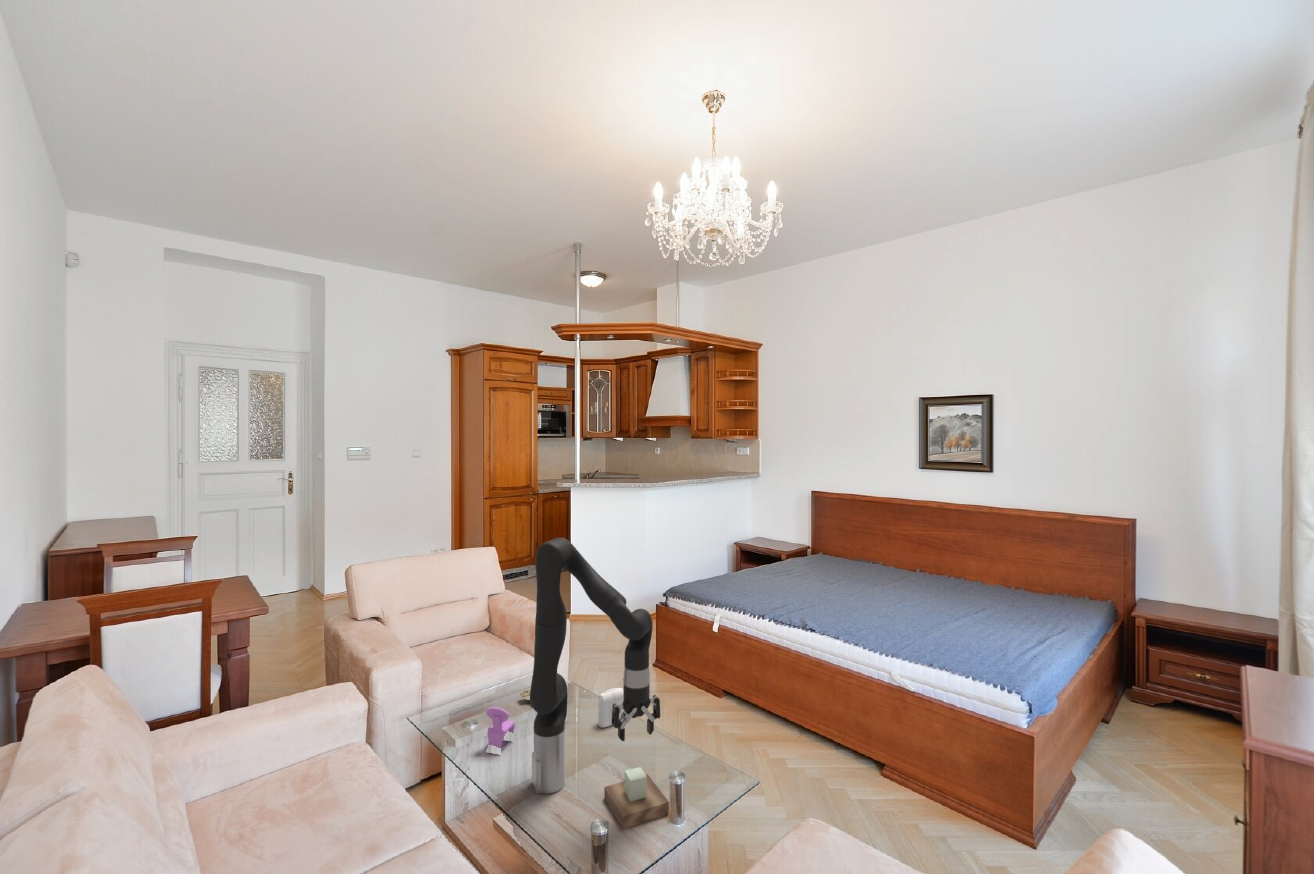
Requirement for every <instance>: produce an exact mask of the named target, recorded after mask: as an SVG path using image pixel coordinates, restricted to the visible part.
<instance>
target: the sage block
mask: <svg viewBox="0 0 1314 874" xmlns="http://www.w3.org/2000/svg"><path fill="white" fill-rule="evenodd" d="M644 771H645V770H643V769H642V766H638V767H635V768H631V769H627V770H624V791H625V793H626V795H627V797H628V798H629V800H630V801H634V800H638V799H642V798H646V797H647V776H646V775H647V774H646V773H645V772H644Z"/></svg>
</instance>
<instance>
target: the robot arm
mask: <svg viewBox="0 0 1314 874" xmlns="http://www.w3.org/2000/svg"><path fill="white" fill-rule="evenodd" d="M562 570H565V571H567V572H568V573H569V574H570V575H572V576H573V577H574V578H576V580H577V581H578V582H579V584H580V586H582V588H583V590H584V592H585V594H586V596H587V597H588V599H589V600H590V601H591V602H592V604H594V605H595V606H596V607H597V608H598V609H600V611H601V612H603V613H604V614H605V615H607V616H608V618H609V619H610V621H611V622H612V623H613V625H614V626H615V627H616V630H617V631H618V632H619V633H620V634H621V635H622V636H623V637H625V638H626V639H627V640H628V643H627V644H626V646H625V649H624V667H623V668H624V669H623V679H622V681H623V682H622V683H623V685H622V686H623V688H622V689H623V698H624V700H623V703H622V704H620V705H617V704H615V703H614V704H613V707H612V722H611V723H612V725H611V726H612V727H614V729H617V737H618V739H620V741H621V742H624V741H626V740H625V739H626V729H625V727H626V725H627V724H629V723H630V721H631V720H632V719H636V718H637V717H643V716H644V715H645V716H646V717H647V719H646V732H647V733H648V735H652V734H653V733H654V730H655V729H654V728H655V720H656V719H660V718H661V701H660V698H659V696H657V695H656V694H653V695H652V697H650V696H651V695H650V692H651V691H650V690H651V689H650V686H651V685H650V683H651V681H650V680H651V679H650V678H651V675H650V674H651V671H650V646H651V643H652V642H651V641H652V635H653V626H654V625H653V618H652V615H651V614H650V612H649V611H648V610H647V609H644V608H637V609H634V610H633V611H631V610H630V609H629V608H628V606H627V599H626V598H625V596H624V595H623V594H622V593H620V591H618V590H617V589H616V588H614V587H613V586H612V585H611V584H610V583H609V582H607V580H606V579H604V578H603V577H602V576H601V574H599V572H597V571H596V569H594V568H593V567H592V565H591V564H590V563H589V561H587V560H586V558H585V557H584V556H583V555H582V554H581V553H580V551H579V550H578V549H577V548H576V547H575V546H574V544H573V543H571V542H570V540H568V539H566V538H564V537H556V538H553V539H550V540H548V541H546V542H544V543H542V544H540V545H539V547H537V550H536V553H535V573H536V604H535V605H536V607H535V608H536V610H535V619H534V620H535V623H534V650H533V651H534V653H533V671H532V679H531V685H530V689H529V690H530V701H529V702H530V705H531V707H532V708H533V710H534V711H535V712H536V715H535V718H534V720H533V751H532V752H531V784H532V786H533V788H534V790H535V793H536V794H537V795H538V794H546V795H547V794H554V793H556V792H559V791H561V790H562V789H563V787H565V782H566V781H565V779H566V778H565V777H566V775H565V771H566V770H565V767H566V765H565V763H566V762H565V760H566V759H565V758H566V757H565V756H566V755H565V754H566V753H565V751H566V750H565V744H566V742H565V741H566V740H565V738H566V737H565V736H566V734H565V732H566V731H565V726H566V725H565V724H566V719H567V715H568V694H569V691H568V685H567V682H566V680H565V678H564V677H563V675H562V674H560V673H558V668H559V667H558V666H559V662H560V660H561V656H562V653H563V649H564V645H565V641H566V635H567V625H568V624H567V623H568V622H567V621H568V614H567V608H566V605H565V603H564V600H563V598H562V594H561V586H560V585H561V575H562ZM651 705H652V713H651V712H650V711H649V709H648V708H649V707H650V706H651ZM622 709H624V711H623V713H622V714H621V718H620V719H619V713H621V710H622Z"/></svg>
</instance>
